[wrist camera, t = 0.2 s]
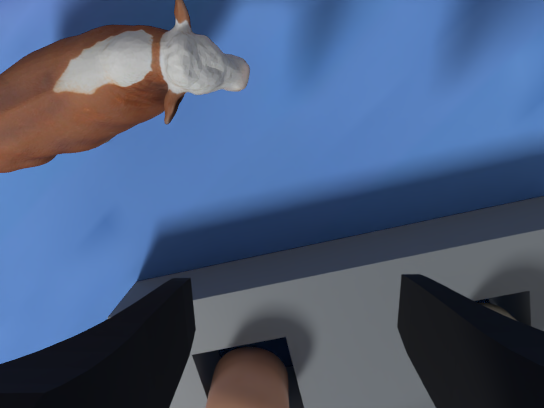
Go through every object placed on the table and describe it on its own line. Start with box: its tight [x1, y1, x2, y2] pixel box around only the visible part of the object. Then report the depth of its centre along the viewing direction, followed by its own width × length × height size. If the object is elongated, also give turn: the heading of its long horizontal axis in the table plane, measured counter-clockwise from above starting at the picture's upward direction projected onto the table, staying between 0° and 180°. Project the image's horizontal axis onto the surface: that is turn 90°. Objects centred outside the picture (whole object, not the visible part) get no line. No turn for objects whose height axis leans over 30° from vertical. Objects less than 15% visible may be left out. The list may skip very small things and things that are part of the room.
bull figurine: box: [0, 0, 250, 173], centre depth 16 cm, size 4×14×8 cm, turn 106°
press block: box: [108, 196, 544, 408], centre depth 21 cm, size 12×26×4 cm, turn 103°
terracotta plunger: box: [205, 347, 289, 408], centre depth 19 cm, size 4×4×4 cm
